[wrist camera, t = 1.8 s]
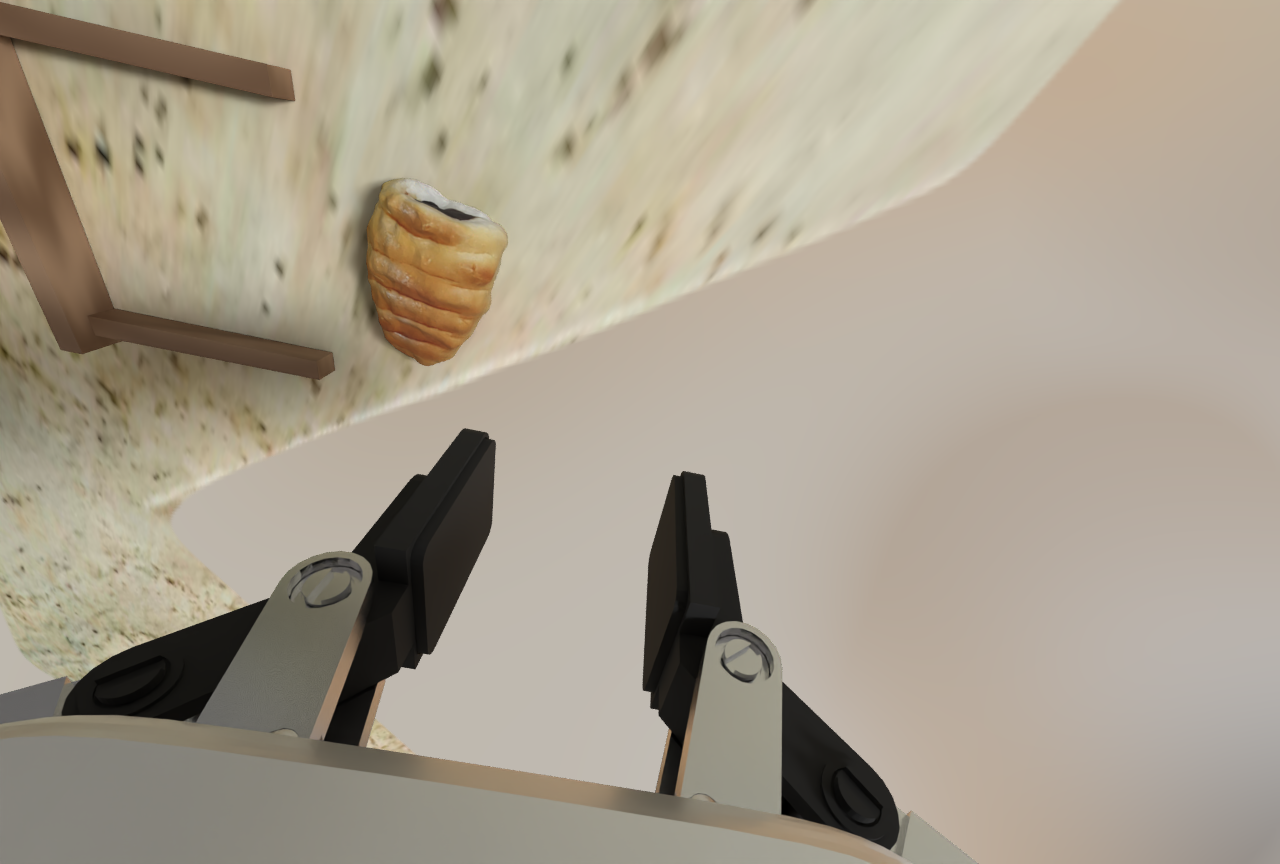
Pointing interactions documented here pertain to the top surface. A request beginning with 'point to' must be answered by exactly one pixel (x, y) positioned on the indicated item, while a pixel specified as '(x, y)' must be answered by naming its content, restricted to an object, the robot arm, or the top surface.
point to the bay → (48, 221)
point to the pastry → (430, 268)
